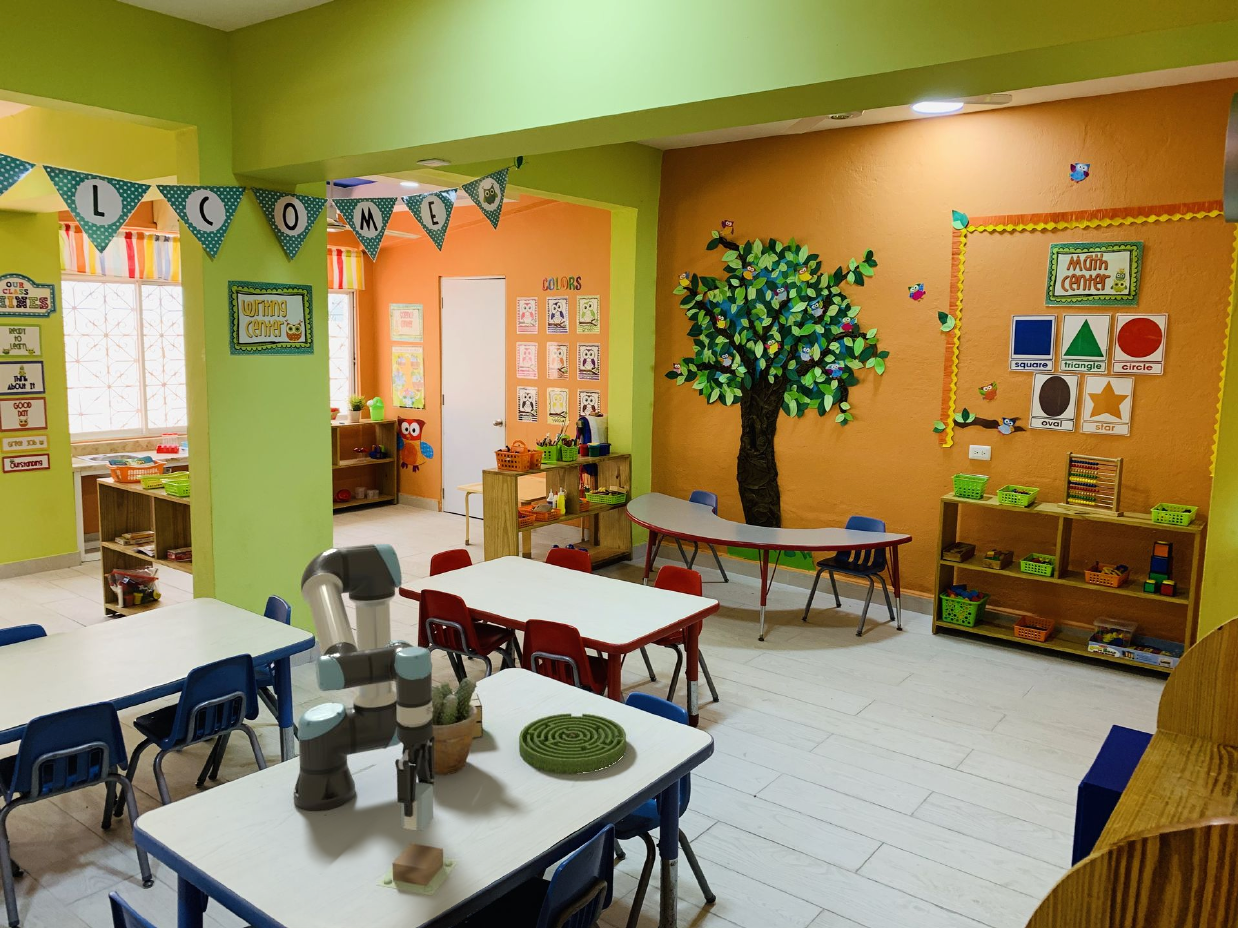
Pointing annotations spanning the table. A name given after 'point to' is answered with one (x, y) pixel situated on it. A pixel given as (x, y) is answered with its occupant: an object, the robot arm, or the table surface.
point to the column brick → (422, 805)
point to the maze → (572, 743)
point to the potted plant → (452, 725)
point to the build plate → (428, 889)
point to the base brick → (418, 864)
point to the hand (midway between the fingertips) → (417, 821)
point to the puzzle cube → (477, 704)
